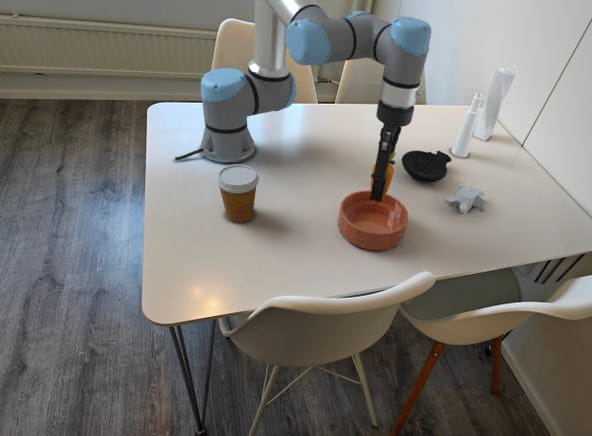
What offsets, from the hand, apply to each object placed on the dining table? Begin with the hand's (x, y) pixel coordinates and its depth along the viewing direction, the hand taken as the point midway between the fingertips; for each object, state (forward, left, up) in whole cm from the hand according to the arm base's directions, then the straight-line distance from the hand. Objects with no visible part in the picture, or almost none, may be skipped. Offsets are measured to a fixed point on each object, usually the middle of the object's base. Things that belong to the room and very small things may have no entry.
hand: (378, 193), depth 96 cm
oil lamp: (+26, +24, -12) cm, 37 cm away
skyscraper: (+60, +48, -12) cm, 78 cm away
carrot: (0, 0, -3) cm, 3 cm away
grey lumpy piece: (+31, +7, -12) cm, 34 cm away
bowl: (0, 0, -11) cm, 11 cm away
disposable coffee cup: (-32, +9, -12) cm, 35 cm away
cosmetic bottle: (+44, +36, -12) cm, 58 cm away
